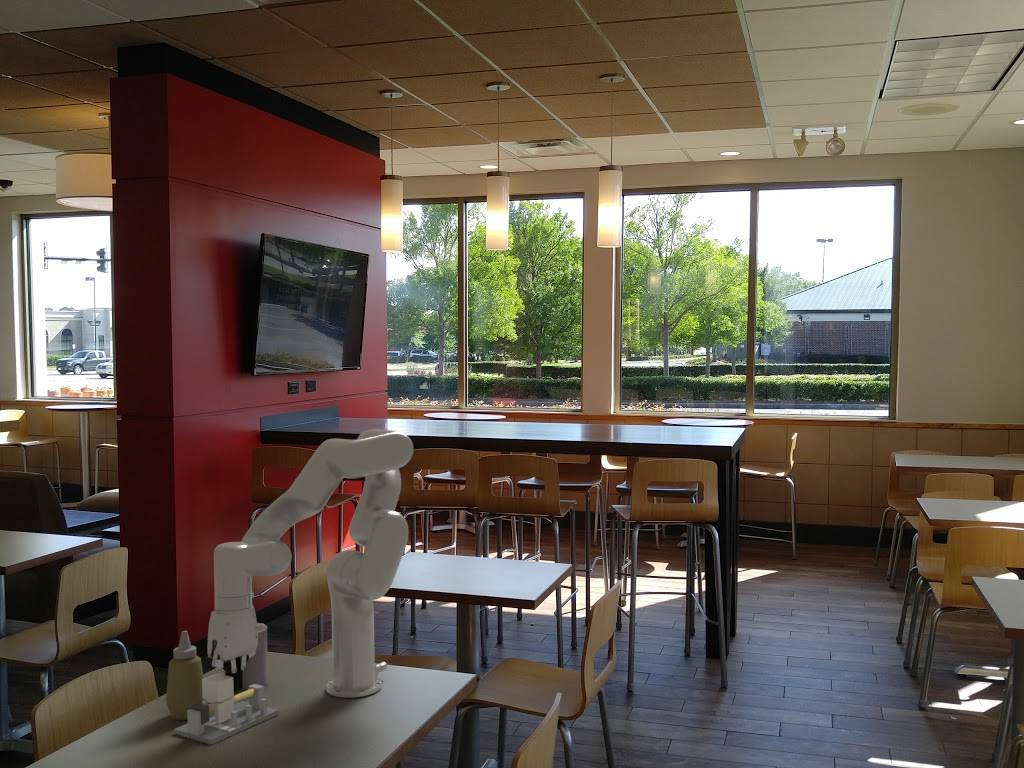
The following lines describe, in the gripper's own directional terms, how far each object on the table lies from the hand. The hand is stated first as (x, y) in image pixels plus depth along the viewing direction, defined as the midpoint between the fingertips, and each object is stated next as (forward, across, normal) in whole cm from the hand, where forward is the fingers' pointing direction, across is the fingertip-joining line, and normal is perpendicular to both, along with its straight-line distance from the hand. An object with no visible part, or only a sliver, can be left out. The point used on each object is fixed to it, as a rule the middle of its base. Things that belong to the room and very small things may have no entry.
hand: (234, 689), depth 194 cm
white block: (+5, +4, 0) cm, 6 cm away
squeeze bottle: (+7, +3, -11) cm, 14 cm away
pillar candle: (+7, -16, -14) cm, 22 cm away
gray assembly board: (+7, +2, 0) cm, 7 cm away
